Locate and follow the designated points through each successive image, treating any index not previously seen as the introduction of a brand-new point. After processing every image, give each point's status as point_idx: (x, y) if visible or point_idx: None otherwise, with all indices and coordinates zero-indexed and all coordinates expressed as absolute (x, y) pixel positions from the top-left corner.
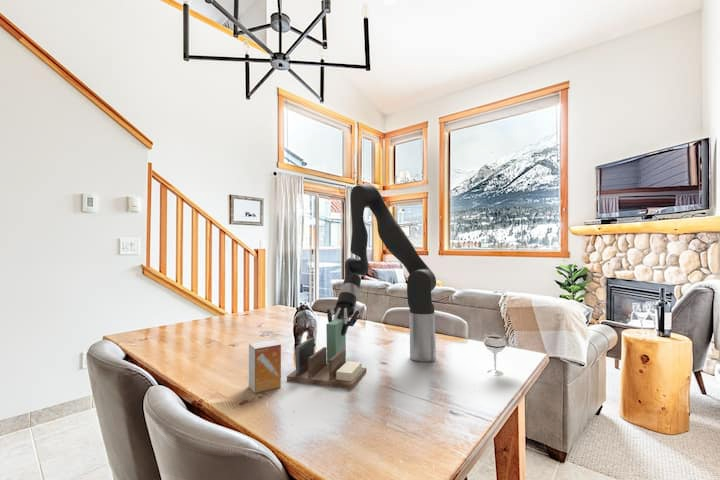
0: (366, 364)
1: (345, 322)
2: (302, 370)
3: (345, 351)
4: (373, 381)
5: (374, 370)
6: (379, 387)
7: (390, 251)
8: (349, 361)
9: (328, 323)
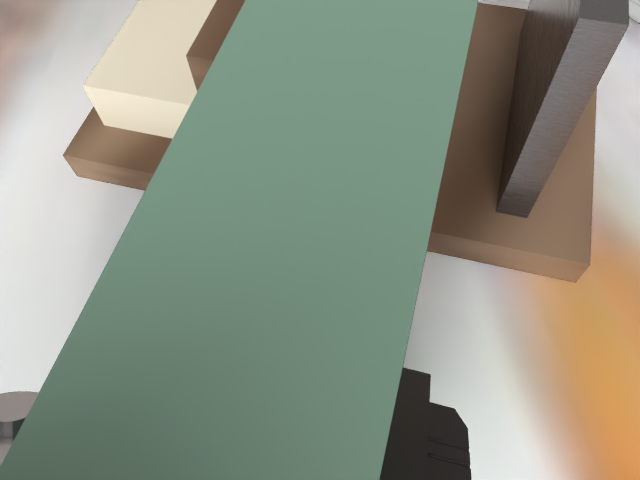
0: (36, 341)
1: (12, 411)
2: (522, 45)
3: (191, 71)
4: (63, 64)
5: (7, 215)
6: (50, 9)
7: None
8: (177, 98)
9: (454, 11)
